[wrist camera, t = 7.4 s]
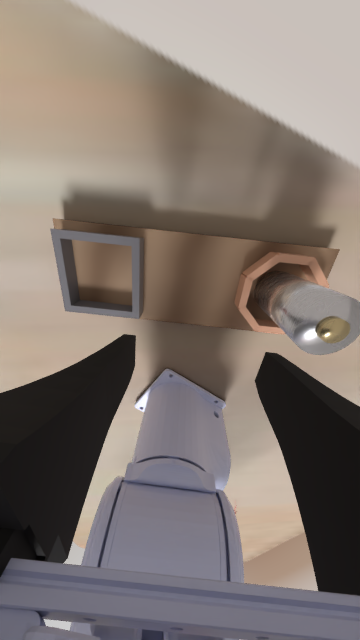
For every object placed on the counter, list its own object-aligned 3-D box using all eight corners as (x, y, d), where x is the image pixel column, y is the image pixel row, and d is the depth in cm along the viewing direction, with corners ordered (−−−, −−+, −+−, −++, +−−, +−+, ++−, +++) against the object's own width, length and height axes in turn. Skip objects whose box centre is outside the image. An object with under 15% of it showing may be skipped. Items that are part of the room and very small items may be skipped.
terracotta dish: (327, 257, 15) (341, 260, 14) (297, 329, 18) (306, 336, 16) (246, 249, 15) (252, 250, 14) (229, 321, 18) (233, 329, 16)
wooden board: (326, 248, 16) (339, 249, 15) (294, 328, 20) (301, 335, 18) (64, 219, 16) (52, 218, 15) (77, 305, 19) (68, 311, 18)
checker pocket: (144, 237, 15) (139, 238, 14) (142, 312, 18) (139, 318, 16) (62, 229, 15) (50, 228, 14) (74, 305, 18) (65, 311, 16)
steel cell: (304, 287, 16) (389, 325, 9) (273, 317, 17) (327, 370, 11) (276, 261, 15) (345, 284, 9) (245, 295, 17) (284, 337, 10)
